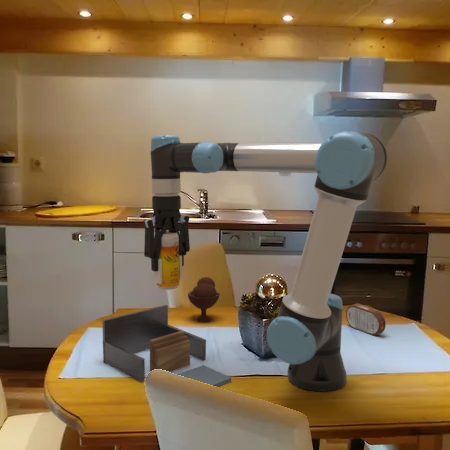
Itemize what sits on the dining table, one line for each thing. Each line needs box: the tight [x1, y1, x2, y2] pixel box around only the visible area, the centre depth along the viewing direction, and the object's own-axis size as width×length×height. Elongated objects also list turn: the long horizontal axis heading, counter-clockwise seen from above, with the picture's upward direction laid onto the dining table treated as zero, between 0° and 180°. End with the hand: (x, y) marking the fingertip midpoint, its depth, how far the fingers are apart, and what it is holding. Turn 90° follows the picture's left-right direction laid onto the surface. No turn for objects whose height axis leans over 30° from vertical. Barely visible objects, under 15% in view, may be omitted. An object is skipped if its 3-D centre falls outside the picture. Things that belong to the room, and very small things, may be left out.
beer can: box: [156, 230, 180, 291], centre depth 144 cm, size 6×6×15 cm
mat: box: [177, 364, 232, 388], centre depth 139 cm, size 11×11×1 cm
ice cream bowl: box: [187, 276, 221, 323], centre depth 187 cm, size 11×11×15 cm
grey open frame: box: [102, 304, 207, 383], centre depth 151 cm, size 18×22×12 cm
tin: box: [345, 303, 387, 336], centre depth 178 cm, size 15×3×8 cm, turn 34°
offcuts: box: [149, 330, 191, 373], centre depth 147 cm, size 4×11×9 cm, turn 134°
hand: (168, 280), depth 145 cm, fingers closed on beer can, 6 cm apart
